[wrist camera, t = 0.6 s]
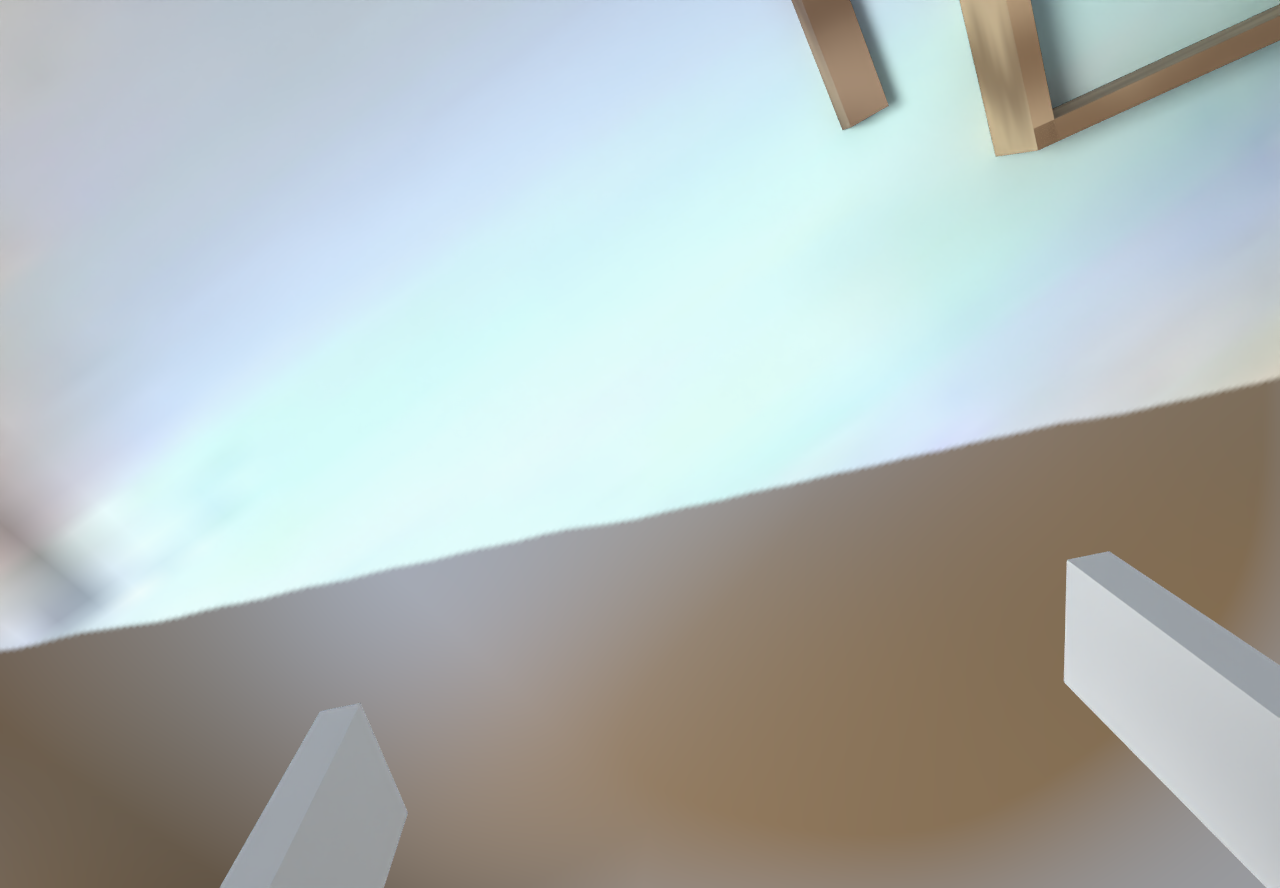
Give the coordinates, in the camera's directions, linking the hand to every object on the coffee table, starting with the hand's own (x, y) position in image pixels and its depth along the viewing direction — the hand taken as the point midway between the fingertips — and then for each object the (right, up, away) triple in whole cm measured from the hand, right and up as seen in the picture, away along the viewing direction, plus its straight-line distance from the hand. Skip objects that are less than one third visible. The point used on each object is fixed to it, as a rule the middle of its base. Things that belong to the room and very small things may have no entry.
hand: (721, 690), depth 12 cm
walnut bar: (+7, +26, +19) cm, 33 cm away
